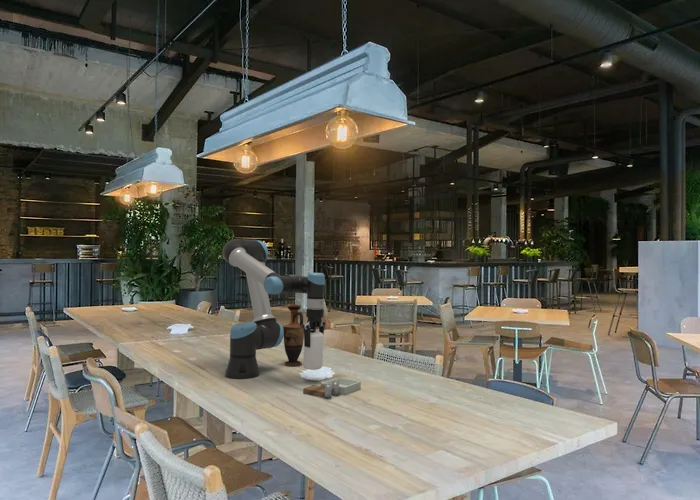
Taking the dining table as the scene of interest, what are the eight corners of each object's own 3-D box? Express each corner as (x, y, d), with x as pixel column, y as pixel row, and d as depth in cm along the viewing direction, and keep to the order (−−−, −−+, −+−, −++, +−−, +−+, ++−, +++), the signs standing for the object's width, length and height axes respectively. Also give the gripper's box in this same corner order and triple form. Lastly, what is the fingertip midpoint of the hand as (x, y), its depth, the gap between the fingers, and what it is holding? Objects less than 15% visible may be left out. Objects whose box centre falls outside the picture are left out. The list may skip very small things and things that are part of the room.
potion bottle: (319, 371, 213) (321, 328, 213) (300, 369, 214) (302, 327, 214) (324, 366, 221) (326, 326, 221) (306, 365, 223) (307, 324, 223)
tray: (320, 390, 205) (320, 383, 205) (337, 384, 214) (337, 377, 215) (344, 395, 198) (344, 387, 198) (360, 388, 208) (360, 381, 208)
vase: (278, 365, 249) (279, 305, 249) (288, 361, 259) (289, 303, 260) (297, 367, 245) (298, 306, 245) (307, 363, 255) (308, 304, 255)
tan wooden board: (303, 394, 199) (303, 388, 199) (313, 390, 205) (313, 384, 205) (323, 398, 194) (323, 392, 194) (333, 394, 200) (333, 388, 200)
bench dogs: (322, 398, 193) (323, 385, 193) (334, 393, 200) (334, 381, 200) (328, 399, 192) (328, 386, 192) (340, 395, 198) (340, 382, 198)
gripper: (310, 310, 209) (308, 366, 209) (332, 307, 222) (330, 360, 222) (296, 308, 213) (294, 363, 213) (319, 306, 226) (316, 358, 226)
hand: (312, 362), depth 218 cm, fingers open, 2 cm apart
